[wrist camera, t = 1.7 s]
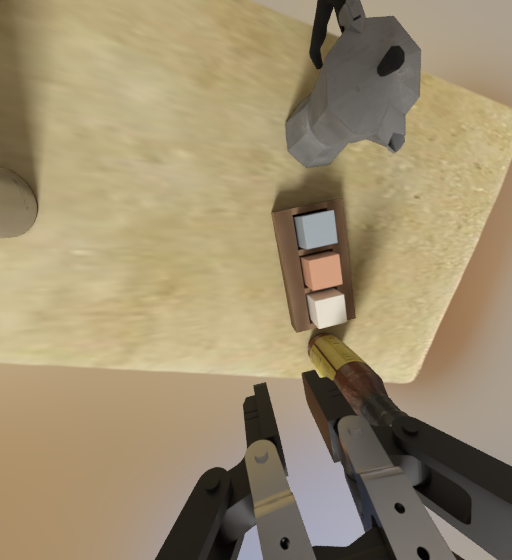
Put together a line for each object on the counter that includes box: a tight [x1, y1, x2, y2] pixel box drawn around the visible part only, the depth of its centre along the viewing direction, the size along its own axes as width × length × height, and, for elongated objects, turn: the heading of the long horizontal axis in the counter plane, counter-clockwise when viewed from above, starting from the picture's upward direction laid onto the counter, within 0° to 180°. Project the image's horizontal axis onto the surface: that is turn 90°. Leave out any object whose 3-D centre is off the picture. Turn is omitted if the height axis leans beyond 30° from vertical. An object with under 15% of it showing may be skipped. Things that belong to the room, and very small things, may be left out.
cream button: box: [306, 288, 347, 329], centre depth 38 cm, size 4×4×4 cm
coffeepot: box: [285, 0, 421, 168], centre depth 27 cm, size 15×9×18 cm, turn 30°
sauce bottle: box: [308, 333, 410, 426], centre depth 35 cm, size 7×6×20 cm
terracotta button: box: [300, 251, 343, 291], centre depth 37 cm, size 4×4×4 cm
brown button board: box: [271, 198, 356, 333], centre depth 39 cm, size 10×19×3 cm, turn 11°
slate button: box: [294, 210, 338, 249], centre depth 35 cm, size 4×4×4 cm
